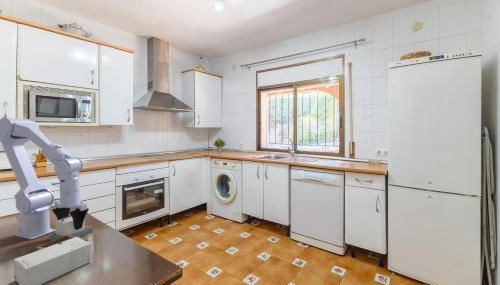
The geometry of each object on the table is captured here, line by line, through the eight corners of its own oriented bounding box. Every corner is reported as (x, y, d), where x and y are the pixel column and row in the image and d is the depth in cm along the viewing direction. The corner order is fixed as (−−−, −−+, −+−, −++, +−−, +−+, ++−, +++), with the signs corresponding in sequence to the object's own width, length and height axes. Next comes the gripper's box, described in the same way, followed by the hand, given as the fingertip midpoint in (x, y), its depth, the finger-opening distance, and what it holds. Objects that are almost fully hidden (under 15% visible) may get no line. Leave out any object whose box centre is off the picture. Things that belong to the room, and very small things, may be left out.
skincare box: (92, 242, 69) (26, 268, 56) (92, 262, 69) (26, 292, 56) (76, 235, 73) (11, 258, 60) (76, 254, 73) (11, 281, 60)
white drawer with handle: (55, 238, 84) (54, 217, 84) (75, 230, 90) (75, 211, 90) (65, 240, 82) (64, 219, 82) (85, 232, 89) (84, 213, 89)
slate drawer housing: (48, 240, 83) (48, 234, 83) (77, 229, 93) (77, 224, 93) (64, 243, 81) (64, 238, 80) (92, 232, 90) (92, 226, 90)
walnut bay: (35, 256, 72) (34, 247, 72) (67, 243, 81) (66, 234, 81) (57, 262, 69) (56, 252, 69) (87, 247, 78) (87, 238, 78)
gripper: (44, 191, 85) (45, 229, 85) (72, 195, 80) (73, 234, 80) (65, 187, 91) (66, 221, 92) (92, 190, 86) (93, 226, 87)
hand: (71, 227), depth 86 cm, fingers open, 7 cm apart
